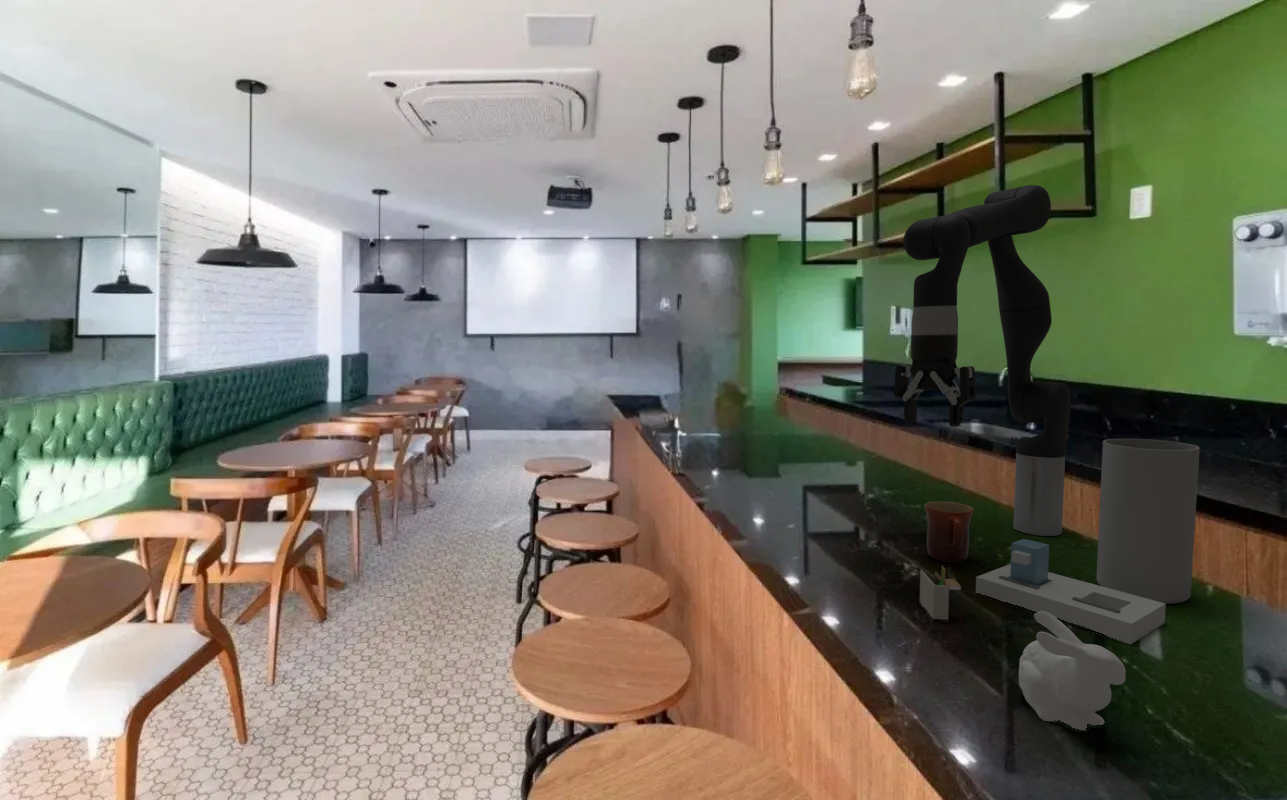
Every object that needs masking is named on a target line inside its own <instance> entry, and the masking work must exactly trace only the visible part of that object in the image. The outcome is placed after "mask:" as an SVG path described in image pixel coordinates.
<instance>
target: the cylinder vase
mask: <svg viewBox="0 0 1287 800" xmlns="http://www.w3.org/2000/svg"><path fill="white" fill-rule="evenodd" d="M1199 462H1200V447H1199V445H1195V444H1190V443H1186V442H1185V443H1184V442H1178V441H1170V440H1162V439H1161V440H1160V439H1148V438H1147V439H1144V438H1111V439H1110V438H1109V439H1104V440H1103V441H1102V456H1101V475H1100V477H1101V479H1100V497H1099V499H1100V500H1099V501H1100V502H1099V520H1098V537H1097V557H1096V559H1097V560H1096V561H1097V562H1096V582H1097V583H1098V586H1102V587H1106V588H1109V589H1113V590H1117V591H1121V592H1124V593H1128V594H1132V595H1135V596H1139V597H1143V598H1147V599H1150V600H1154V601H1158V602H1161V603H1165V604H1166V605H1168V604H1169V605H1170V604H1171V605H1172V604H1173V605H1174V604H1181V603H1184V602H1187V601H1188V600H1189V599H1190V597H1191V595H1192V576H1193V564H1194V563H1193V562H1194V559H1193V558H1194V546H1195V545H1194V544H1195V529H1196V527H1195V526H1196V513H1197V512H1196V511H1197V498H1198V497H1197V496H1198V479H1199V465H1200V463H1199Z"/></svg>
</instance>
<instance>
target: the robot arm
mask: <svg viewBox="0 0 1287 800" xmlns="http://www.w3.org/2000/svg"><path fill="white" fill-rule="evenodd" d="M1051 211H1052V203H1051V198H1050V194H1049V192H1048V190H1046V189H1045V187H1043V186H1041V185H1036V184H1029V185H1028V184H1027V185H1022V186H1017V187H1013V188H1009V189H1003V190H998V191H994V192H991V193H989V194H988V195H986V197H985V198H984V201H983V204H978V205H973V206H969V207H966V208H962V209H959V210H956V211H954V212H950V213H948V214H946V215H940V216H934V217H928V218H925V219H919V220H917V221H914V222H912V224H910V225H909V226H908V227H907V229H906V231H905V233H904V235H903V240H902V241H903V249H904V251H905V252H906V254H907V255H908V256H909V257H910V258H912V259H913V260H916V261H929V260H937V259H938V260H937V263H936V264H935V267H934V268H933V269H931V270H930V271H927V272H924V273H921V274H919V275H918V276H916V277H915V279H914V281H913V305H912V306H913V308H912V316H911V323H910V324H911V325H910V326H911V327H910V329H911V330H910V332H911V333H910V358H911V361H912V363H911V365H910V366H909V365H908V364H900V365H896V366H895V371H894V373H895V375H894V387H893V388H894V390H893V396H894V397H895V398H899V399H901V400H902V401H903V418H904V419H905V422H906V423H915V422H917V414H918V410H917V409H918V408H917V407H918V401H916V399H917V398H918V397H919V395H920V394H921V393H923V392H924V391H929V390H930V391H931V390H932V391H934V392H935V391H938V392H939V391H940V392H941V393H942V394H943V395H944V396H945V397H946V398H947V399H948V401H949V403H950V405H949V423H948V424H949V426H950V427H953V428H955V427H960V426H961V424H962V423H963V421H964V406H965V404H967V403H970V402H974V401H975V400H976V371H975V367H974V366H973V365H972V366H971V365H969V366H968V365H967V366H961V367H958V366H957V363H956V361H957V358H958V348H959V347H958V346H959V345H958V340H959V315H958V314H959V313H958V307H957V306H958V284H959V283H958V282H959V279H960V276H961V271H962V268H963V265H964V262H965V258H966V255H967V253H968V249H969V248H972V247H976V246H977V245H980V244H982V243H985V242H987V245H988V249H989V252H990V257H991V262H992V265H993V272H994V278H995V285H996V290H997V299H998V300H997V301H998V309H999V310H998V311H999V316H1000V317H999V318H1000V323H1001V328H1002V336H1003V341H1004V349H1005V357H1006V367H1007V395H1008V407H1009V411H1010V414H1011V416H1012V418H1013V419H1014V420H1016V421H1017V422H1020V423H1021V422H1022V423H1030V424H1041V425H1043V429H1042V432H1040V433H1038V434H1037V435H1035V436H1030V437H1025V438H1021V439H1019V440H1017V442H1016V446H1015V448H1016V449H1015V471H1014V472H1015V475H1014V478H1015V479H1014V503H1013V504H1014V507H1013V508H1014V509H1013V530H1014V529H1015V530H1016V531H1018V532H1021V533H1024V534H1029V535H1033V536H1042V537H1045V536H1046V537H1055V536H1060V535H1062V534H1063V520H1064V519H1063V518H1064V516H1063V515H1064V499H1065V498H1064V494H1065V493H1064V491H1065V473H1066V472H1065V468H1066V462H1065V461H1066V449H1067V443H1068V437H1069V423H1070V415H1071V406H1072V405H1071V404H1072V399H1071V396H1072V395H1071V391H1070V389H1069V387H1068V386H1067V384H1065V383H1063V382H1057V381H1032V379H1031V364H1032V361H1033V358H1034V356H1035V354H1036V353H1037V351H1038V349H1039V348H1040V346H1041V345H1042V343H1043V341H1044V340H1045V338H1046V337H1047V334H1048V333H1049V331H1050V328H1051V326H1052V320H1053V319H1052V310H1051V303H1050V294H1049V292H1048V290H1047V288H1046V286H1045V284H1043V282H1042V281H1041V279H1039V278H1038V277H1037V275H1036V274H1035V272H1033V271H1032V270H1031V269H1030V268H1029V267H1028V266H1027V264H1025V262H1024V261H1023V260H1022V259H1021V257H1020V255H1019V253H1018V251H1017V248H1016V246H1015V241H1014V239H1013V236H1016V235H1022V234H1029V233H1033V232H1037V231H1039V230H1040V229H1043V228H1044V227H1045V225H1046V224H1048V221H1049V220H1050V216H1051V213H1052V212H1051ZM910 376H912V378H913V379H912V380H911V382H909V380H910ZM956 377H957V378H958V379H959V385H958V384H957V382H956V381H955V378H956ZM959 386H960V387H959Z"/></svg>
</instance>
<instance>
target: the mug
mask: <svg viewBox="0 0 1287 800" xmlns="http://www.w3.org/2000/svg"><path fill="white" fill-rule="evenodd" d="M923 508H924V510H925V514H926V518H927V531H926V547H927V548H926V549H927V554H928V555H929V556H930V557H931V558H932V557H933V558H936V559H940V560H945V561H962V562H964V561H965V560H966V559H968V554H969V550H970V547H969V546H970V545H969V543H970V534H969V533H970V531H969V530H970V529H969V528H970V527H969V526H970V522H971V518H972V515H973V513H974V511H975V510H974V508H973V507H972V506H970V505H967V504H964V503H961V502H953V501H929V502H926V503H924V505H923ZM933 558H932V559H933ZM963 560H964V561H963Z"/></svg>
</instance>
